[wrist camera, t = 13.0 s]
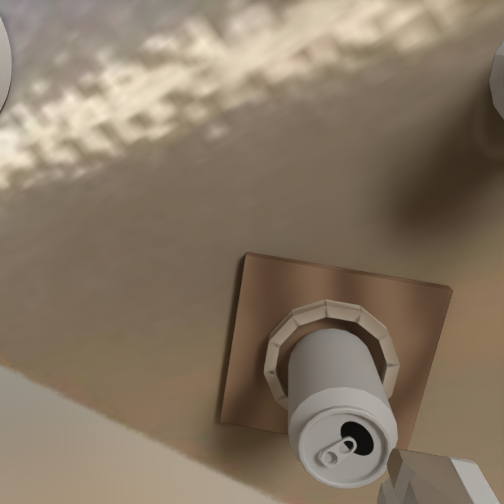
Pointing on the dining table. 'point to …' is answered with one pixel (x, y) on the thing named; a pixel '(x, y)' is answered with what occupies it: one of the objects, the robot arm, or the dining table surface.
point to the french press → (498, 80)
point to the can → (338, 410)
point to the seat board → (327, 317)
